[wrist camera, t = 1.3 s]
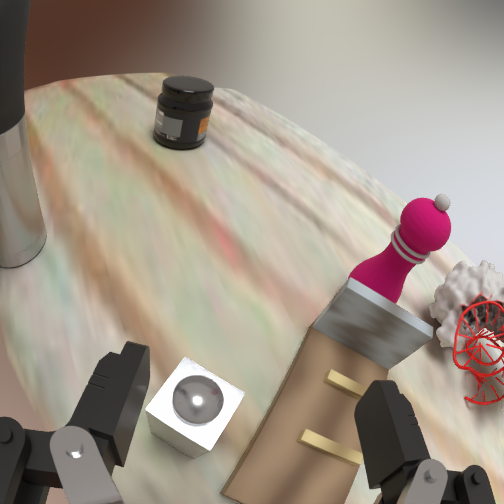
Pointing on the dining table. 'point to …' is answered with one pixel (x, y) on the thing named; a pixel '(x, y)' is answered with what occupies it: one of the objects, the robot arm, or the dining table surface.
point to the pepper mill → (406, 246)
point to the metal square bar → (192, 409)
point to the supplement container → (183, 112)
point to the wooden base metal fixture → (325, 402)
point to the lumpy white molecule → (471, 314)
